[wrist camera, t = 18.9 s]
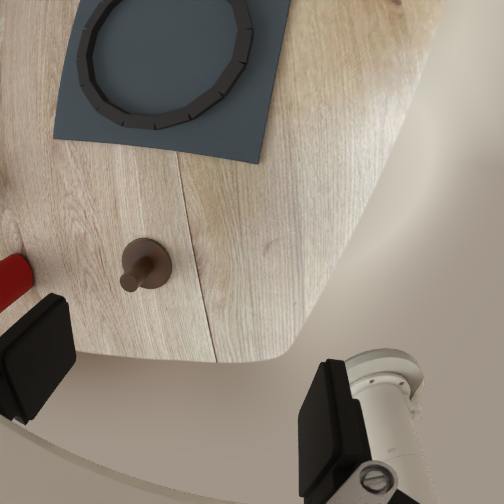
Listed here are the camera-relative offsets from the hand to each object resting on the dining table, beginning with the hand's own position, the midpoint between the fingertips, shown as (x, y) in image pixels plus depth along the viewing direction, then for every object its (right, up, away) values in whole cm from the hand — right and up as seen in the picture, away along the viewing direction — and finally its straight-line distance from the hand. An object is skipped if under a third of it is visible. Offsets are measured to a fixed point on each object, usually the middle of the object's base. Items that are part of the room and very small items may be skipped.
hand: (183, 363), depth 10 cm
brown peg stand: (-11, +2, +31) cm, 33 cm away
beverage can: (-36, +1, +34) cm, 49 cm away
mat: (-8, +28, +20) cm, 36 cm away
